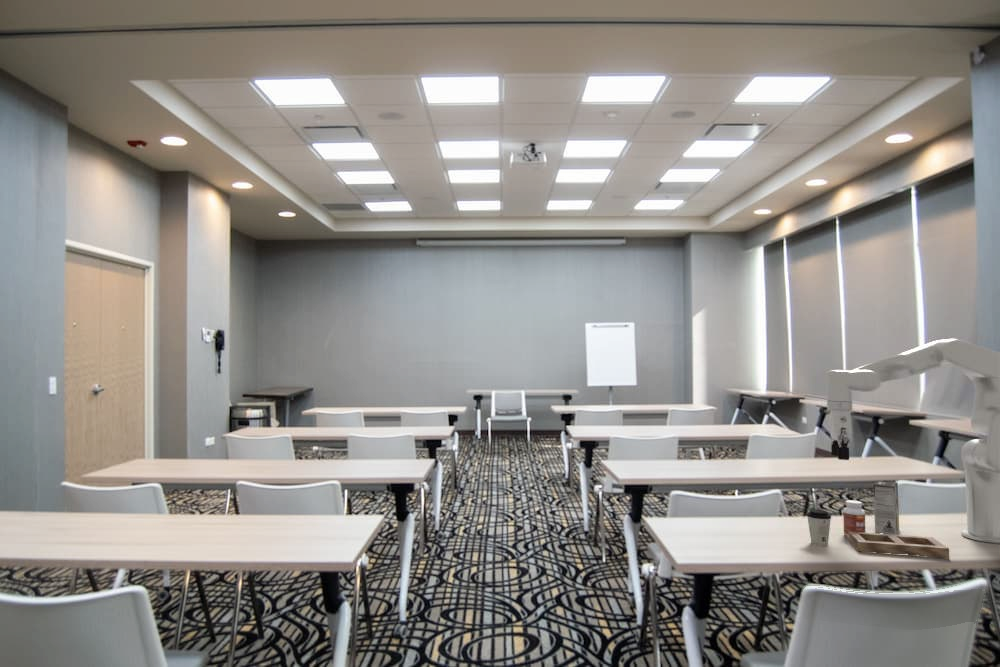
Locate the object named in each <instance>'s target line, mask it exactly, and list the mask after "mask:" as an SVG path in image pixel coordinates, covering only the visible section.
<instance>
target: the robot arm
mask: <svg viewBox="0 0 1000 667" xmlns="http://www.w3.org/2000/svg"><path fill="white" fill-rule="evenodd" d="M946 366H957V367H958V368H959V369H960V371H961V373H963V374H964V375H965V376H966V377H967V378H968V379H969V380H970V382H972V383H971V384H972V385H973V387H974V400H973V405H972V413H971V418H970V425H971V428H972V430H974V432H976V433H978V434H980V435H983V436H985V437H987V439H982V438H975V439H971V440H968V441H967V442H966V441H965V444H964V443H963V445H962V448H961V451H960V458H961V462H962V467H963V470H964V478H965V500H966V501H965V502H966V503H965V504H966V505H965V506H966V523H967V524H966V525H967V529H963V530H961V535H962V536H963V537H965V538H968V539H970V540H975V541H979V542H985V543H990V544H1000V351H998V350H997V351H996V350H993V349H990V348H987V347H984V346H981V345H978V344H975V343H972V342H969V341H967V340H963V339H960V338H959V339H957V338H948V339H946V338H945V339H939V340H935V341H932V342H931V341H930V342H928V343H926V344H923V345H921V346H917V347H915V348H913V349H910V350H907V351H903V352H902V353H898V354H896V355H891V356H889V357H886V358H884V359H880V360H877V361H873V362H871V363H867V364H865V365H863V366H860V367H856V368H854V369H852V370H843V369H832V370H828V371H827V372H826V411H829V412H830V414H829V419H830V420H829V433H830V438H831V443H830V444H831V446H830V448H831V455H832V456H835V457H837V459H838V460H840V461H841V460H842V461H849V460H850V444H849V443H850V442H852V441H853V430H852V429H853V428H852V427H853V426H852V416H851V412H853V392H857V393H858V392H859V393H873V392H875V391H877V390H878V389H879V388H880V387H881V385H882V383H886V382H890V381H899V380H906V379H910V378H915V377H918V376H920V375H922V374H924V373H928V372H930V371H931V372H932V371H934V370H936V369H940V368H942V367H946Z"/></svg>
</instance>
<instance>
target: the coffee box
mask: <svg viewBox="0 0 1000 667" xmlns="http://www.w3.org/2000/svg"><path fill="white" fill-rule="evenodd" d="M898 483H899V482H894V481H883V480H876V481H875V482H874V484H873V507H874V510H873V511H874V533H879V534H880V533H883V534H894V535H899V532H900V520H899V519H900V514H899V511H900V510H899V508H900V507H899V489H898V488H899V486H898Z"/></svg>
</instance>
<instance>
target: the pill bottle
mask: <svg viewBox="0 0 1000 667" xmlns="http://www.w3.org/2000/svg"><path fill="white" fill-rule="evenodd" d="M845 506H846V507H844V508H843V510H842V511H843V512H842V514H843V515H842V516H843V517H842V518H843V535H844V536H846V537H848V531H851V532H865V533H866V512H865V510H864V509H863V502H861V501H859V500H853V499H852V500H851V499H849V500H845Z"/></svg>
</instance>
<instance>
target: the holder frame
mask: <svg viewBox="0 0 1000 667" xmlns="http://www.w3.org/2000/svg"><path fill="white" fill-rule="evenodd" d="M847 537H848V538H847V539H848V542H849V543H850V544H851V545H852V546H853V547H854V549H856V550H857V551H858V552H859V551H861V552H860V553H865V552H876V553H875V554H878V553H891V554H908V555H919V556H927V557H926V558H929V557H934V558H933V559H942V558H949V559H950V548H949V547H947V546H946V545H944V544H943V543H942V542H940V541H939V540H937V539H936V538H934V537H933V536H921V535H908V534H904V535H903V534H897V535H894V534H880V533H875V532H866V531H865V532H851V531H848V536H847ZM891 554H890V555H891Z"/></svg>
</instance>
